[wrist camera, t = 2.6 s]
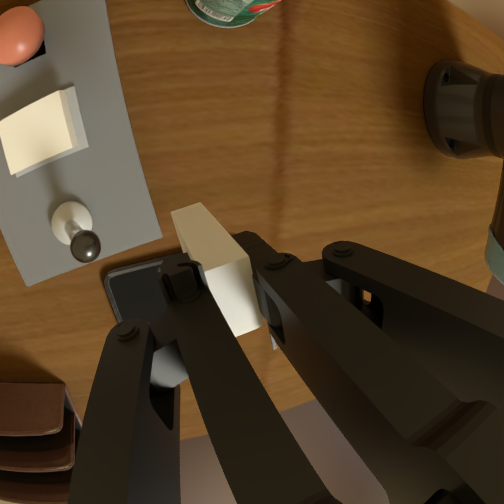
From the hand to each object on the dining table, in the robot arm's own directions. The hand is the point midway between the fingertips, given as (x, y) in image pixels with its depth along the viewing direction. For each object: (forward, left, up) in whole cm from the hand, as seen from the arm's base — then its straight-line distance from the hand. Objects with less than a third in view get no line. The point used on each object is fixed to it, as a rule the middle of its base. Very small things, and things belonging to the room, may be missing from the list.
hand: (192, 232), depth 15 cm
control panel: (+9, -8, -15) cm, 19 cm away
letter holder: (+31, +21, -15) cm, 40 cm away
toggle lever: (+9, 0, -11) cm, 14 cm away
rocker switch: (+9, -8, -10) cm, 16 cm away
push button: (+9, -16, -12) cm, 22 cm away
